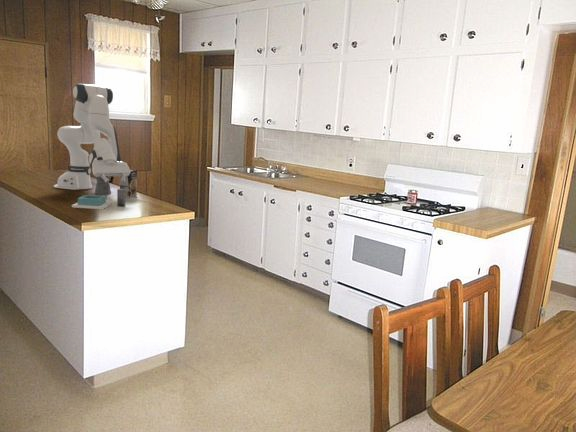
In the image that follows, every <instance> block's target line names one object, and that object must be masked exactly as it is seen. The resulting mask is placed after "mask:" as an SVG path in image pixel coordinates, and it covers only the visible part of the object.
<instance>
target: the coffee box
mask: <svg viewBox="0 0 576 432" xmlns="http://www.w3.org/2000/svg"><path fill="white" fill-rule="evenodd" d="M130 171H131V172H130V174H129V176H125V182H122V180H121V179H122V178H123V177H122V176H119V189H124V190H125V199H130V198H135V197H137V195H138V194H137V192H138V191H137V190H138V170H137V169H130Z"/></svg>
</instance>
